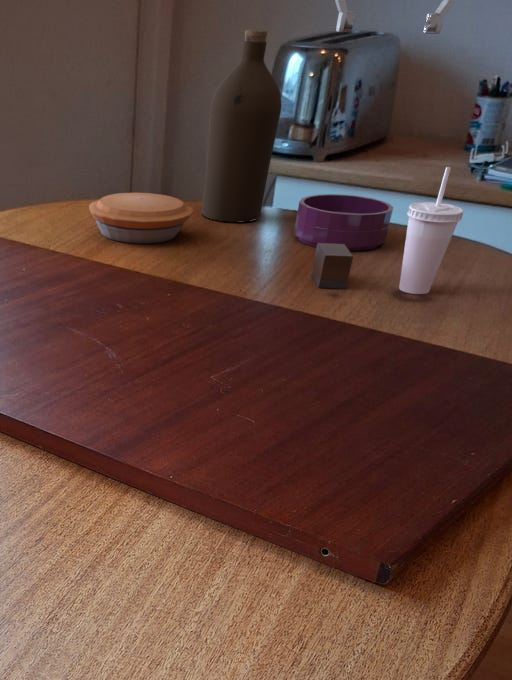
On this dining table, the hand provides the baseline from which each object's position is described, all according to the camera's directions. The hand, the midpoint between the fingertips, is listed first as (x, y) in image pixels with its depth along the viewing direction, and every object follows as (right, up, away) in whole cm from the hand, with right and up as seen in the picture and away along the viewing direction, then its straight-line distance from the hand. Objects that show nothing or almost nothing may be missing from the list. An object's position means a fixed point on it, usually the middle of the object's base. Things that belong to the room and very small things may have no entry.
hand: (387, 32), depth 97 cm
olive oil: (-7, +2, +47) cm, 47 cm away
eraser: (0, -20, +18) cm, 27 cm away
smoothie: (+10, -22, +16) cm, 29 cm away
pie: (-23, -6, +37) cm, 44 cm away
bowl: (+7, -7, +35) cm, 37 cm away
